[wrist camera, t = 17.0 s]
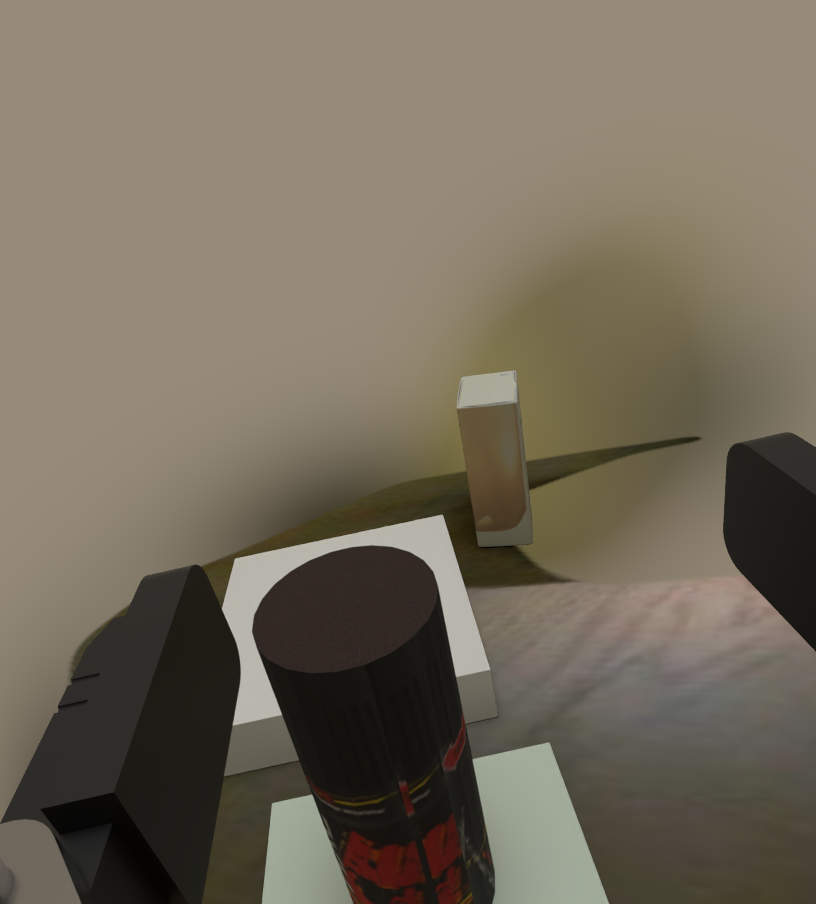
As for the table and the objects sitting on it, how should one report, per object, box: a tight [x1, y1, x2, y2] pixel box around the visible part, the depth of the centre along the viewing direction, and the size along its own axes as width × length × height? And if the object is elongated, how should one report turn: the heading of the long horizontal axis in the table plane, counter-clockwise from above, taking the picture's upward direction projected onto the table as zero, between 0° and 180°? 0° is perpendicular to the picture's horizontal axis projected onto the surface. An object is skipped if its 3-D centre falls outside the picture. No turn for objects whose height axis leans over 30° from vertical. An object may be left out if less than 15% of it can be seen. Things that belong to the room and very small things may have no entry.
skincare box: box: [457, 371, 533, 547], centre depth 47 cm, size 6×4×12 cm
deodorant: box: [252, 545, 495, 904], centre depth 23 cm, size 6×6×15 cm
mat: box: [262, 743, 609, 904], centre depth 26 cm, size 14×10×1 cm
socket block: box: [222, 515, 498, 776], centre depth 40 cm, size 16×16×4 cm
